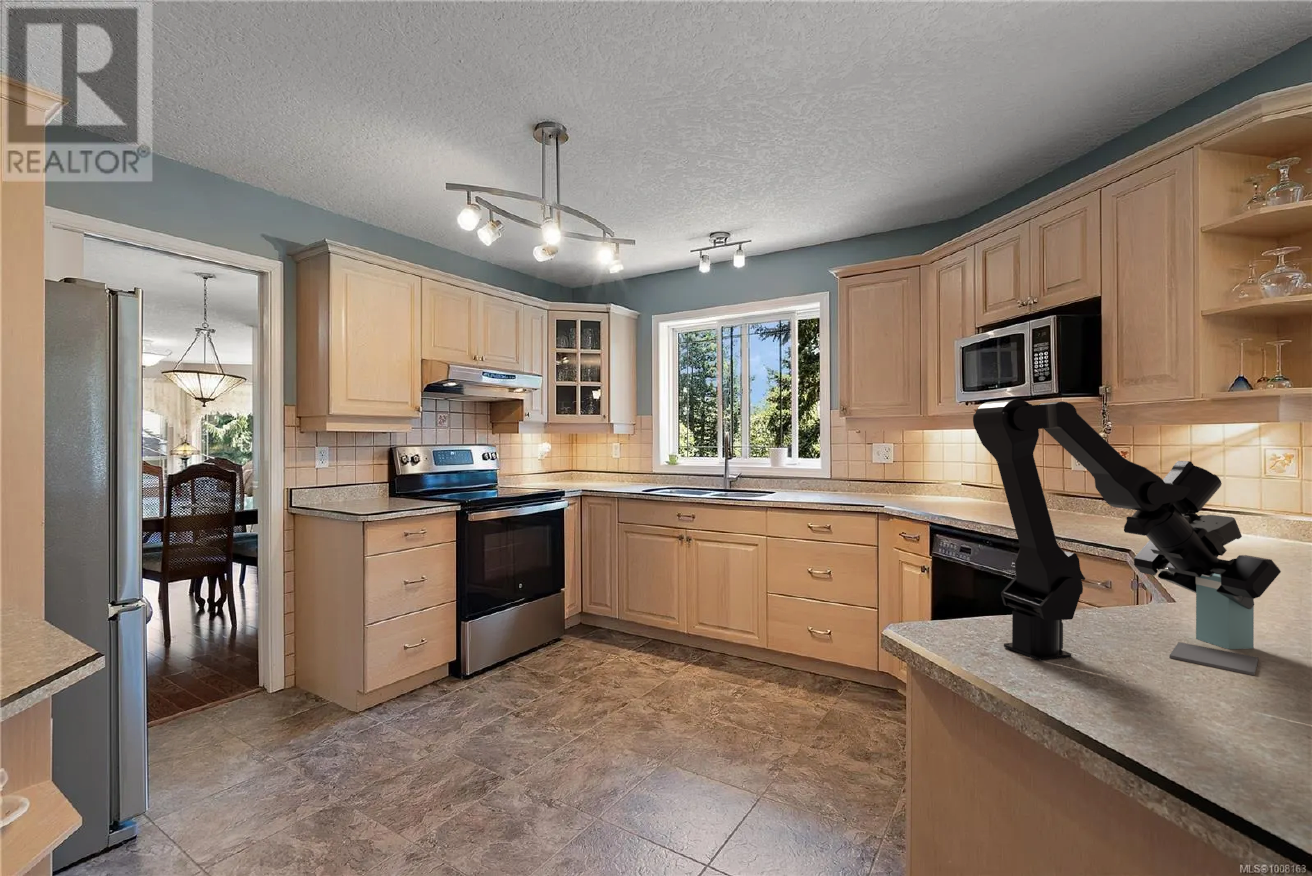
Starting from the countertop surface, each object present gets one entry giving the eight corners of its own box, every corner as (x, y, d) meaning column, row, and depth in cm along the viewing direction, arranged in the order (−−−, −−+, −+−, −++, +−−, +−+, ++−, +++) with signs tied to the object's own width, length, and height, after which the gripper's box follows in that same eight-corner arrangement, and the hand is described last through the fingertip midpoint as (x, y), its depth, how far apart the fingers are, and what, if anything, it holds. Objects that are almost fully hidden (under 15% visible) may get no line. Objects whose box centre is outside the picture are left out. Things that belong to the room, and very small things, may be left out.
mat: (1254, 675, 83) (1254, 672, 83) (1169, 657, 89) (1169, 655, 89) (1258, 660, 89) (1258, 657, 89) (1178, 644, 96) (1178, 642, 96)
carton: (1228, 649, 94) (1229, 573, 94) (1195, 638, 99) (1195, 567, 99) (1254, 648, 94) (1254, 573, 94) (1219, 637, 99) (1219, 566, 99)
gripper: (1269, 504, 87) (1334, 579, 88) (1148, 493, 105) (1202, 555, 107) (1222, 560, 86) (1288, 634, 87) (1108, 538, 104) (1163, 600, 106)
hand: (1231, 602), depth 97 cm, fingers open, 5 cm apart
